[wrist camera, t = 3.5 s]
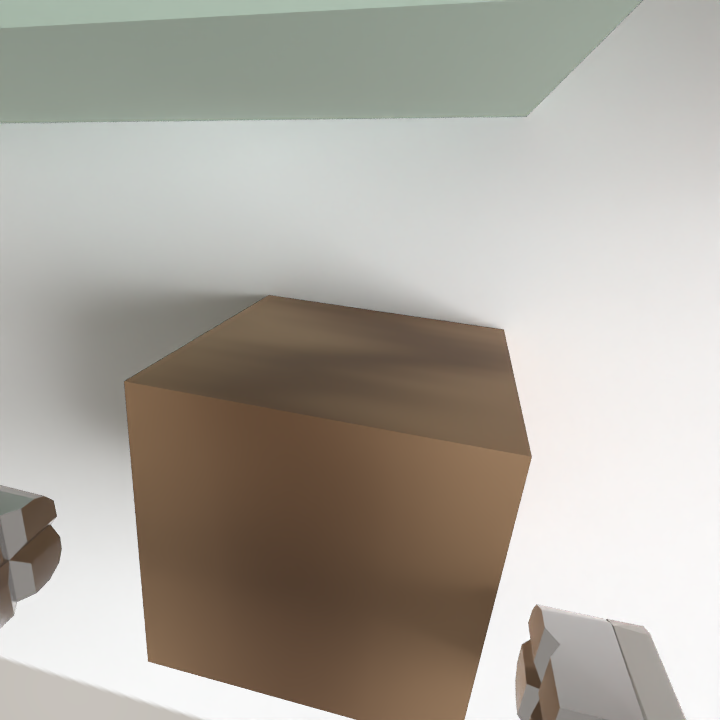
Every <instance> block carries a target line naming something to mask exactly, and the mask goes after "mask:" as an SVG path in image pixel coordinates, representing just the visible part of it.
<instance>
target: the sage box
mask: <svg viewBox="0 0 720 720" xmlns="http://www.w3.org/2000/svg"><path fill="white" fill-rule="evenodd" d="M642 1H643V0H0V123H58V122H138V121H217V120H296V119H375V118H455V117H527V116H528V115H529V114H530V113H531V112H532V111H533V110H534V109H535V108H536V107H537V106H538V105H539V104H540V103H541V102H542V101H543V100H544V99H545V98H546V97H547V96H548V95H549V94H550V93H551V92H552V91H553V90H554V89H555V88H556V87H557V86H558V85H559V84H560V83H561V82H562V81H563V80H564V79H565V78H566V77H567V76H568V75H569V74H570V73H571V72H572V71H573V70H574V69H575V68H576V67H577V66H578V65H579V64H580V63H581V62H582V61H583V60H584V59H585V58H586V57H587V56H588V55H589V54H590V53H591V52H592V51H593V50H594V49H595V48H596V47H597V46H598V45H599V44H600V43H601V42H602V41H603V40H604V39H605V38H606V37H607V36H608V35H609V34H610V33H611V32H612V31H613V30H614V29H615V28H616V27H617V26H618V25H619V24H620V23H621V22H622V21H623V20H624V19H625V18H626V17H627V16H628V15H629V14H630V13H631V12H632V11H633V10H634V9H635V8H636V7H637V6H638V5H639V4H640V3H641V2H642Z"/></svg>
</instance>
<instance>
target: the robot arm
mask: <svg viewBox="0 0 720 720" xmlns="http://www.w3.org/2000/svg"><path fill="white" fill-rule="evenodd" d="M56 517H57V514H56V510H55V505H54V501H53V500H51V499H49V498H47V497H45V496H42V495H38V494H34V493H30V492H26V491H22V490H18V489H14V488H10V487H6V486H2V485H0V628H1V627H2V626H3V625H4V624H5V623H6V622H7V621H8V620H9V619H10V618H12V617H13V616H14V613H15V609H16V605H17V602H18V601H20V600H22V599H25V598H27V597H29V596H31V595H33V594H36V593H37V592H38V591H39V590H40V589H41V588H42V587H43V586H44V585H45V584H46V583H47V582H48V581H49V580H50V578H51V576H52V574H53V573H54V571H55V569H56V567H57V565H58V564H59V560H60V555H61V549H62V548H61V541H60V537H59V535H58V534H57V533H56V531H55V530H54V529H53V527H52V526H51V524H52V522H53V521H54V520H55V518H56ZM528 624H529V632H530V640H529V641H527V642H525V643H524V644H522V646H521V650H520V654H519V658H518V662H517V671H516V705H517V715H518V716H519V718H520V719H521V720H686V718H685V716H684V713H683V711H682V708H681V706H680V704H679V701H678V699H677V697H676V694H675V692H674V690H673V687H672V685H671V682H670V680H669V678H668V675H667V673H666V671H665V668H664V666H663V663H662V661H661V659H660V656H659V654H658V652H657V649H656V647H655V645H654V642H653V640H652V637H651V635H650V633H649V632H648V631H647V630H646V629H645V628H644V627H643V626H639V625H634V624H629V623H624V622H619V621H615V620H610V619H606V620H605V619H603V618H599V617H594V616H590V615H585V614H580V613H575V612H571V611H566V610H561V609H556V608H552V607H547V606H542V605H537V604H536V606H535V607H534V609H533V610H532V613H531V616H530V619H529V622H528Z"/></svg>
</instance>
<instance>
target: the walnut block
mask: <svg viewBox="0 0 720 720" xmlns="http://www.w3.org/2000/svg"><path fill="white" fill-rule="evenodd" d="M124 386H125V398H126V409H127V421H128V433H129V444H130V456H131V468H132V479H133V491H134V503H135V514H136V526H137V538H138V549H139V561H140V572H141V584H142V596H143V607H144V619H145V631H146V642H147V654H148V662H152V663H156V664H159V665H163V666H166V667H170V668H173V669H177V670H181V671H184V672H188V673H191V674H195V675H198V676H202V677H206V678H209V679H213V680H216V681H220V682H224V683H227V684H231V685H234V686H238V687H241V688H245V689H249V690H252V691H256V692H259V693H263V694H266V695H270V696H274V697H277V698H281V699H284V700H288V701H291V702H295V703H299V704H302V705H306V706H309V707H313V708H317V709H320V710H324V711H327V712H331V713H334V714H338V715H342V716H345V717H349V718H352V719H356V720H464V719H465V715H466V711H467V707H468V703H469V699H470V696H471V692H472V688H473V684H474V680H475V676H476V672H477V668H478V664H479V660H480V657H481V653H482V649H483V645H484V641H485V637H486V633H487V629H488V625H489V621H490V618H491V614H492V610H493V606H494V602H495V598H496V594H497V590H498V586H499V582H500V579H501V575H502V571H503V567H504V563H505V559H506V555H507V551H508V547H509V543H510V540H511V536H512V532H513V528H514V524H515V520H516V516H517V512H518V508H519V504H520V501H521V497H522V493H523V489H524V485H525V481H526V477H527V473H528V469H529V465H530V462H531V458H532V456H531V451H530V447H529V442H528V438H527V433H526V428H525V424H524V419H523V415H522V410H521V406H520V401H519V397H518V392H517V387H516V383H515V378H514V374H513V369H512V365H511V360H510V356H509V351H508V346H507V342H506V337H505V333H504V330H502V329H495V328H488V327H482V326H475V325H468V324H461V323H455V322H448V321H441V320H434V319H427V318H421V317H414V316H407V315H400V314H394V313H387V312H380V311H373V310H366V309H360V308H353V307H346V306H339V305H333V304H326V303H319V302H312V301H305V300H299V299H292V298H285V297H278V296H272V295H268V296H266V297H265V298H263V299H261V300H260V301H258V302H256V303H255V304H253V305H251V306H250V307H248V308H246V309H245V310H243V311H241V312H240V313H238V314H236V315H235V316H233V317H231V318H230V319H228V320H226V321H225V322H223V323H221V324H220V325H218V326H216V327H214V328H213V329H211V330H209V331H208V332H206V333H204V334H203V335H201V336H199V337H198V338H196V339H194V340H193V341H191V342H189V343H188V344H186V345H184V346H183V347H181V348H179V349H178V350H176V351H174V352H173V353H171V354H169V355H168V356H166V357H164V358H162V359H161V360H159V361H157V362H156V363H154V364H152V365H151V366H149V367H147V368H146V369H144V370H142V371H141V372H139V373H137V374H136V375H134V376H132V377H131V378H129V379H127V380H126V381H124Z"/></svg>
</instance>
